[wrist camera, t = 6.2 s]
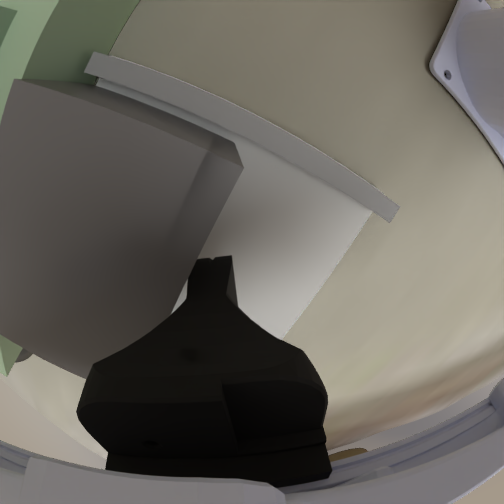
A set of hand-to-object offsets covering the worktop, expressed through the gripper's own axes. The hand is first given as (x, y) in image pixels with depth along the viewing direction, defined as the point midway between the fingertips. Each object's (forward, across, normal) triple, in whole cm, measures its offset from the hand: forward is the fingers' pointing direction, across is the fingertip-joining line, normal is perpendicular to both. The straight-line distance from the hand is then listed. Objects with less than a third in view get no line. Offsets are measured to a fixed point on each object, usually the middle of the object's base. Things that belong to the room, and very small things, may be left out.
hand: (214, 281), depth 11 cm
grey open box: (+2, +4, -3) cm, 5 cm away
